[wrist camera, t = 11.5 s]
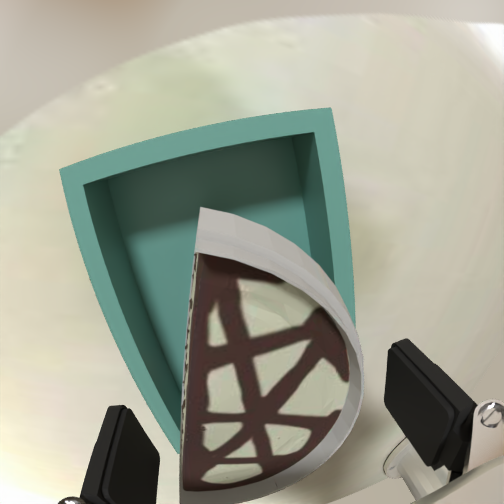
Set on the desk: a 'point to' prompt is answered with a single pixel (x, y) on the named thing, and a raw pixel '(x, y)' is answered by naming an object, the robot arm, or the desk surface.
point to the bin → (186, 222)
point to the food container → (261, 365)
